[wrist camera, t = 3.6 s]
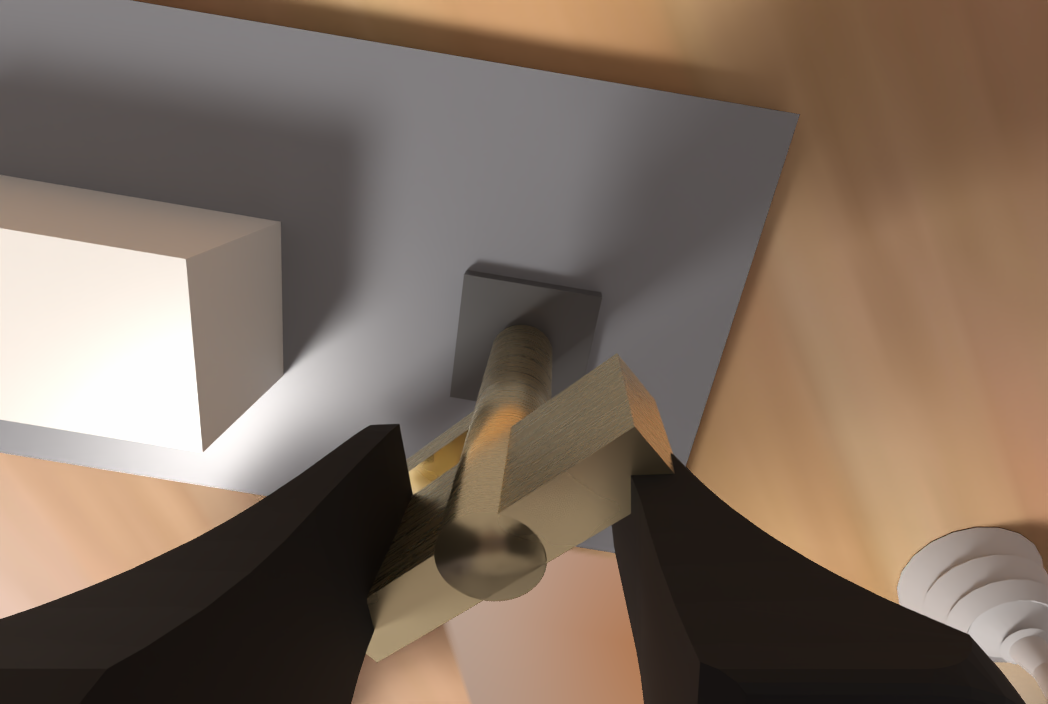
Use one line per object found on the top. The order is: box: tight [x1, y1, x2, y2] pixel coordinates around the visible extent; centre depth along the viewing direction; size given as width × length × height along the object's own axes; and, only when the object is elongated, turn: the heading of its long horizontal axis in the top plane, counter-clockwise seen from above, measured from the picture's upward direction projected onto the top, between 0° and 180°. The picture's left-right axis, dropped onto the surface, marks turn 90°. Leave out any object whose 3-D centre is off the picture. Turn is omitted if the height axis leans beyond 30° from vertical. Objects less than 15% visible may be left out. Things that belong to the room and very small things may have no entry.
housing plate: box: [0, 0, 800, 553], centre depth 17 cm, size 15×24×2 cm, turn 81°
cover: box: [0, 175, 283, 453], centre depth 15 cm, size 5×10×4 cm, turn 81°
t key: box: [366, 325, 675, 663], centre depth 14 cm, size 2×12×8 cm, turn 130°
